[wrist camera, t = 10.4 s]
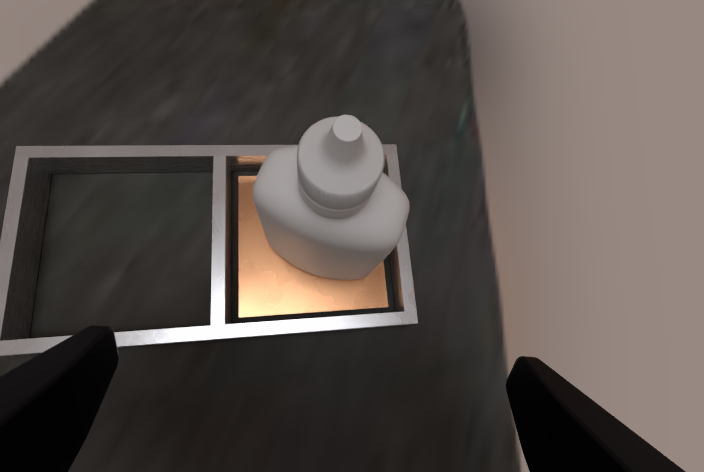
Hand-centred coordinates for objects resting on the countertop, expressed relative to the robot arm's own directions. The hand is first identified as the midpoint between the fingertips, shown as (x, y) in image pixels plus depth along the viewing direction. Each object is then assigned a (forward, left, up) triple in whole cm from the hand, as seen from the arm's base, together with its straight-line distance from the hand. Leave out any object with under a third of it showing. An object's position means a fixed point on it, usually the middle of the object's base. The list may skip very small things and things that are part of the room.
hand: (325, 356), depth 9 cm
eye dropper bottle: (+3, -5, -11) cm, 12 cm away
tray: (+7, -2, -11) cm, 13 cm away
